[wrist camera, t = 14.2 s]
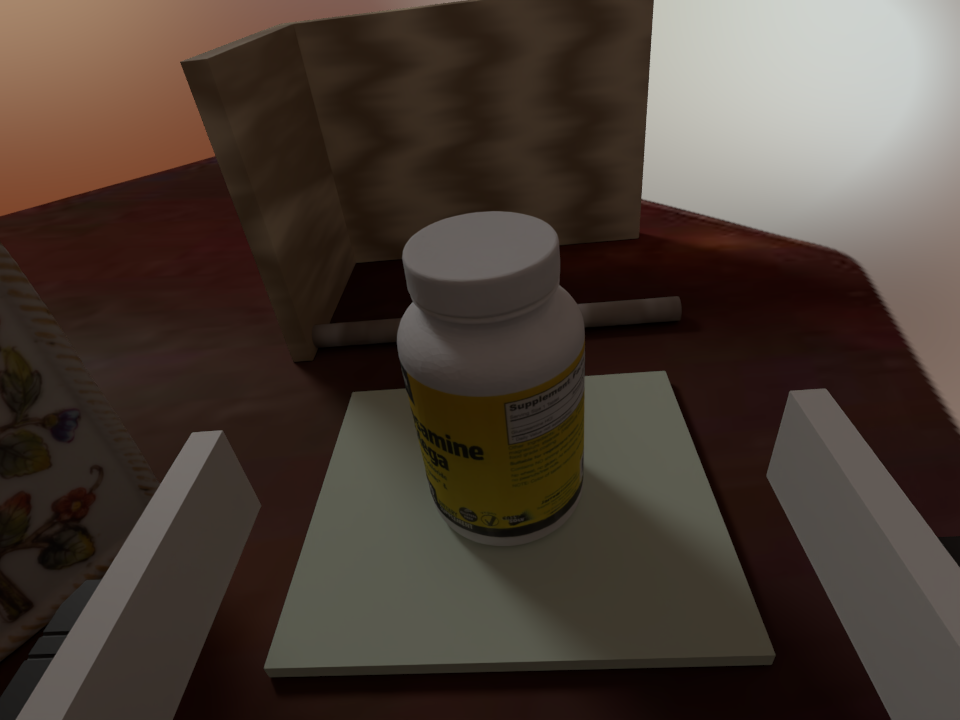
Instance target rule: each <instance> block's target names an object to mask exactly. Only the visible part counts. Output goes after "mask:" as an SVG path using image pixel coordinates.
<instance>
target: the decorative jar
mask: <svg viewBox="0 0 960 720" xmlns="http://www.w3.org/2000/svg"><path fill="white" fill-rule="evenodd" d="M159 486H160V484H159V482H158V481H157V479H156V478H155V476H154V473H153V472H152V470H151V469H150V467H149V465H148V463H147V462H146V461H145V459H144V457H143V455H142V453H141V452H140V450H139V448H138V447H137V446H136V444H135V442H134V440H133V439H132V438H131V436H130V434H129V433H128V431H127V430H126V429H125V427H124V426H123V424H122V422H121V420H120V419H119V417H118V416H117V414H116V413H115V412H114V410H113V409H112V407H111V406H110V404H109V402H108V401H107V400H106V398H105V397H104V395H103V394H102V392H101V391H100V389H99V388H98V386H97V385H96V384H95V382H94V381H93V379H92V378H91V376H90V374H89V372H88V371H87V370H86V368H85V367H84V365H83V363H82V361H81V360H80V358H79V356H78V355H77V353H76V351H75V350H74V349H73V348H72V346H71V344H70V342H69V340H68V339H67V337H66V336H65V334H64V333H63V331H62V329H61V327H60V326H59V325H58V324H57V322H56V321H55V319H54V318H53V316H52V314H51V313H50V312H49V310H48V308H47V307H46V305H45V304H44V303H43V302H42V300H41V299H40V297H39V295H38V294H37V292H36V291H35V290H34V288H33V286H32V285H31V284H30V282H29V281H28V280H27V278H26V276H25V275H24V274H23V272H22V271H21V270H20V268H19V266H18V264H17V263H16V262H15V260H14V259H13V258H12V257H11V256H10V254H9V252H8V251H7V250H6V249H5V247H4V246H3V245H2V244H1V242H0V662H1V661H2V660H3V659H5V658H6V657H7V656H9V655H10V654H11V653H12V652H14V651H15V650H16V649H18V648H19V647H20V646H21V645H23V644H24V643H25V642H26V641H28V640H29V639H30V638H31V637H33V636H34V635H35V634H36V633H37V632H38V631H40V630H41V629H42V628H43V627H44V626H46V625H47V624H48V623H49V622H50V621H51V619H52V617H53V616H54V614H55V613H56V611H57V610H58V608H59V607H60V605H61V604H62V603H63V602H64V601H65V600H66V599H67V598H68V597H69V596H70V595H71V594H72V593H73V592H74V591H75V590H76V589H78V588H79V587H80V586H81V585H82V584H83V583H84V582H85V581H86V580H99V579H101V578H102V577H103V576H104V575H105V574H106V572H107V570H108V569H109V567H110V565H111V564H112V562H113V561H114V559H115V557H116V556H117V554H118V552H119V551H120V549H121V548H122V546H123V544H124V543H125V541H126V539H127V538H128V536H129V535H130V533H131V531H132V530H133V528H134V526H135V525H136V523H137V522H138V520H139V518H140V517H141V515H142V513H143V512H144V510H145V509H146V507H147V505H148V504H149V502H150V500H151V499H152V497H153V496H154V494H155V492H156V491H157V489H158V487H159Z"/></svg>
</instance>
